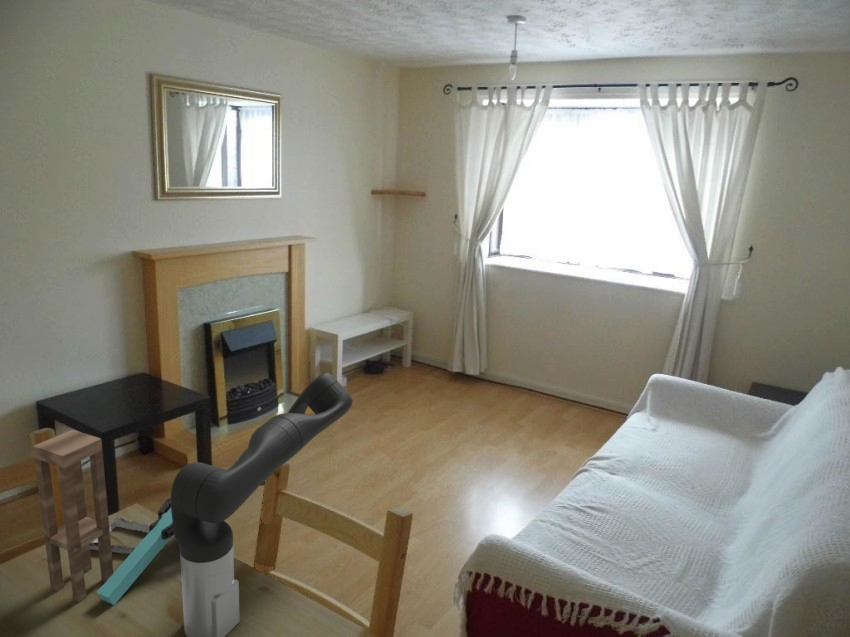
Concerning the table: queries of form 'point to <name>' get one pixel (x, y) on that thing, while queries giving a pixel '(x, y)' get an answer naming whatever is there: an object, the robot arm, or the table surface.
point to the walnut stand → (73, 508)
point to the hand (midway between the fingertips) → (156, 533)
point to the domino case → (135, 562)
